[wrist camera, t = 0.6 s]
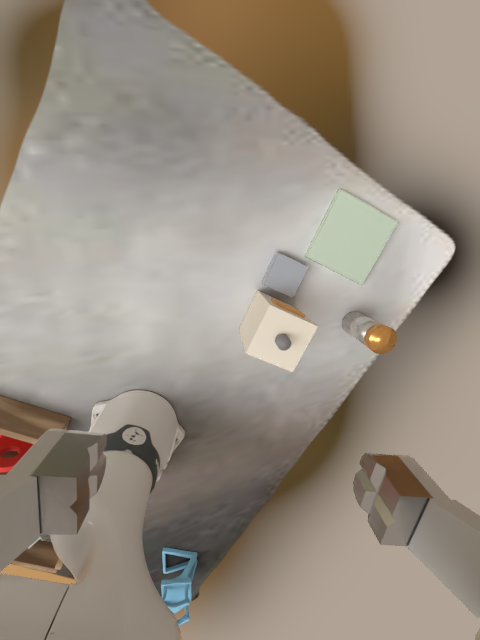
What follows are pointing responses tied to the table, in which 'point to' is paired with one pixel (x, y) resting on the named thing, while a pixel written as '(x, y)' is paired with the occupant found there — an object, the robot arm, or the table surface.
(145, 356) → the table surface
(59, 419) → the bracket holder
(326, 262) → the pad
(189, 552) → the chair
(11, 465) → the bracket
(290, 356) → the box
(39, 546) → the brown wooden tray
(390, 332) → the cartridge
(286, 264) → the cover plate
